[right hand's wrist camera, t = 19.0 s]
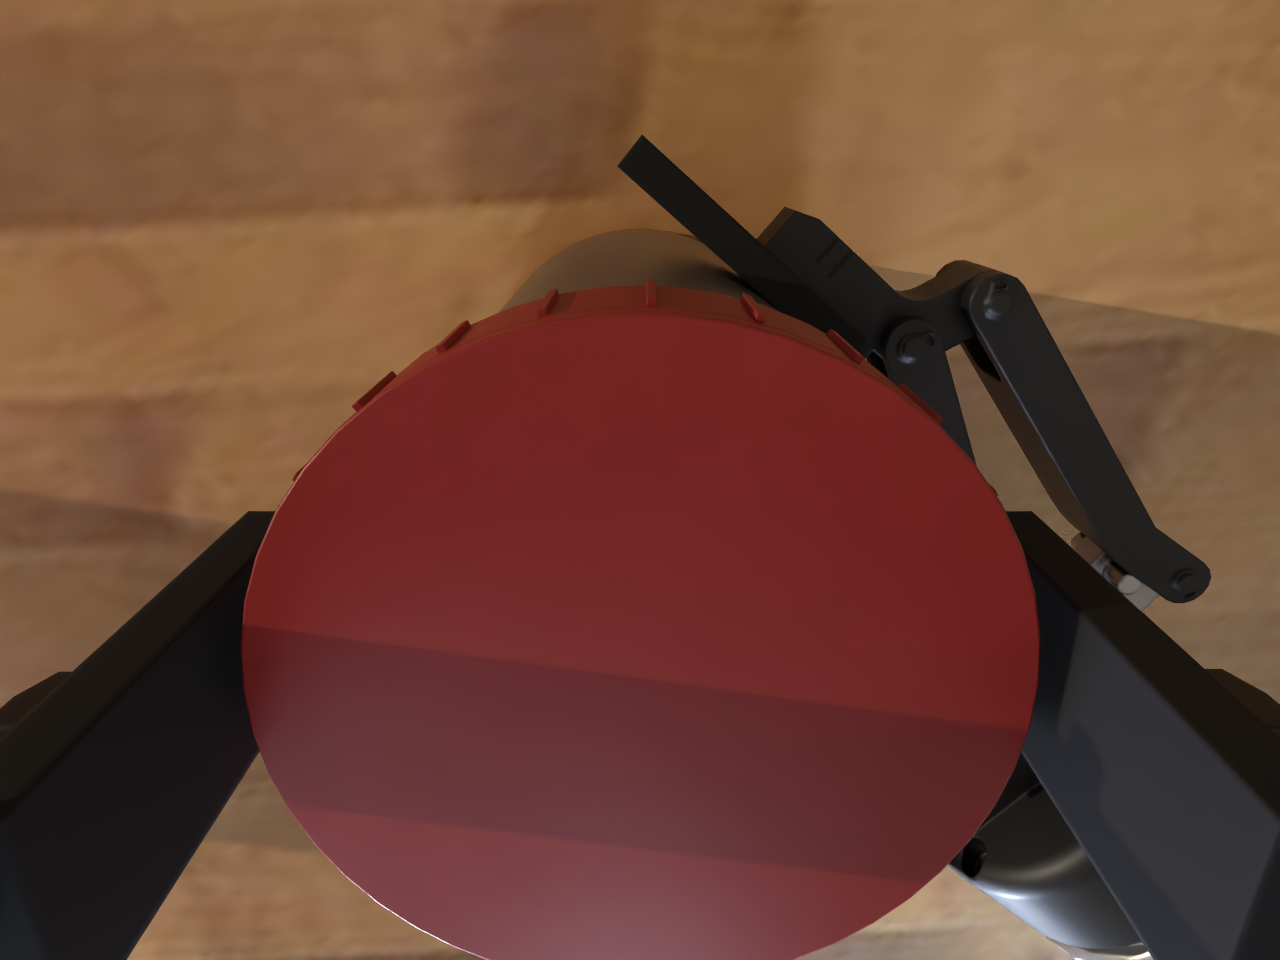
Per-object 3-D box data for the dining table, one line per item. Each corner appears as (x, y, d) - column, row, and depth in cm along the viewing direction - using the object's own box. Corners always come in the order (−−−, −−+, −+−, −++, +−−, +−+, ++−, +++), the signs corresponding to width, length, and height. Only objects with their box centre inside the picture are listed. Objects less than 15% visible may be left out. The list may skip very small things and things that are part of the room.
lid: (162, 429, 11) (67, 484, 9) (899, 161, 10) (960, 163, 8) (465, 937, 15) (439, 1051, 13) (1037, 788, 14) (1101, 890, 12)
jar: (631, 568, 28) (622, 1000, 14) (430, 373, 26) (162, 654, 11) (847, 391, 26) (1108, 689, 11) (650, 158, 23) (667, 165, 9)
